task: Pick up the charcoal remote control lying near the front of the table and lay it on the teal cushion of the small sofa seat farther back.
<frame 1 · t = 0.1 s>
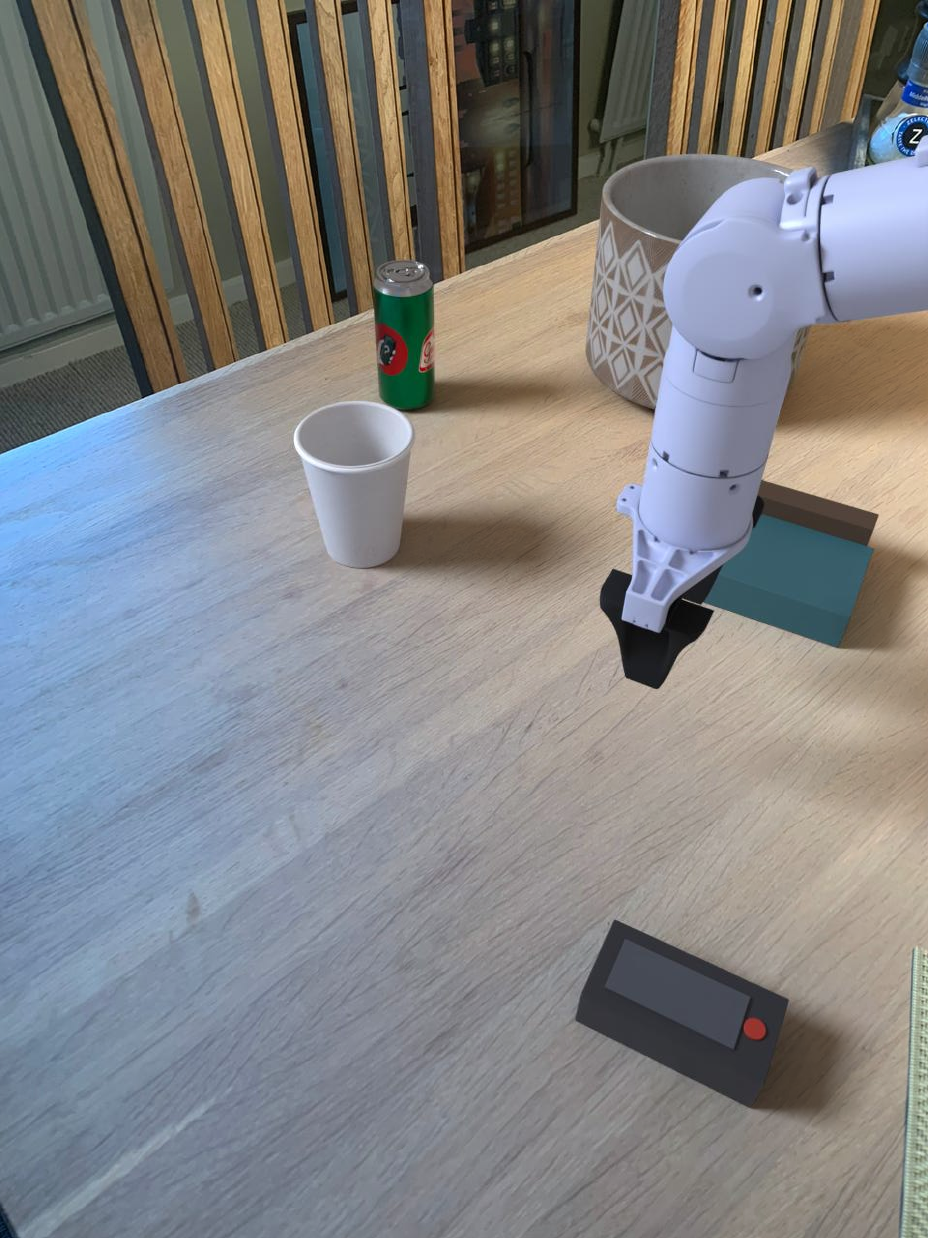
hand: (665, 636, 58), 8 cm above the table, tool pointing down, fingers open, 7 cm apart
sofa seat: (774, 587, 72), on the table
remote: (674, 1023, 50), on the table
soda can: (407, 399, 90), on the table
planter: (686, 376, 93), on the table
dixie cup: (363, 545, 75), on the table
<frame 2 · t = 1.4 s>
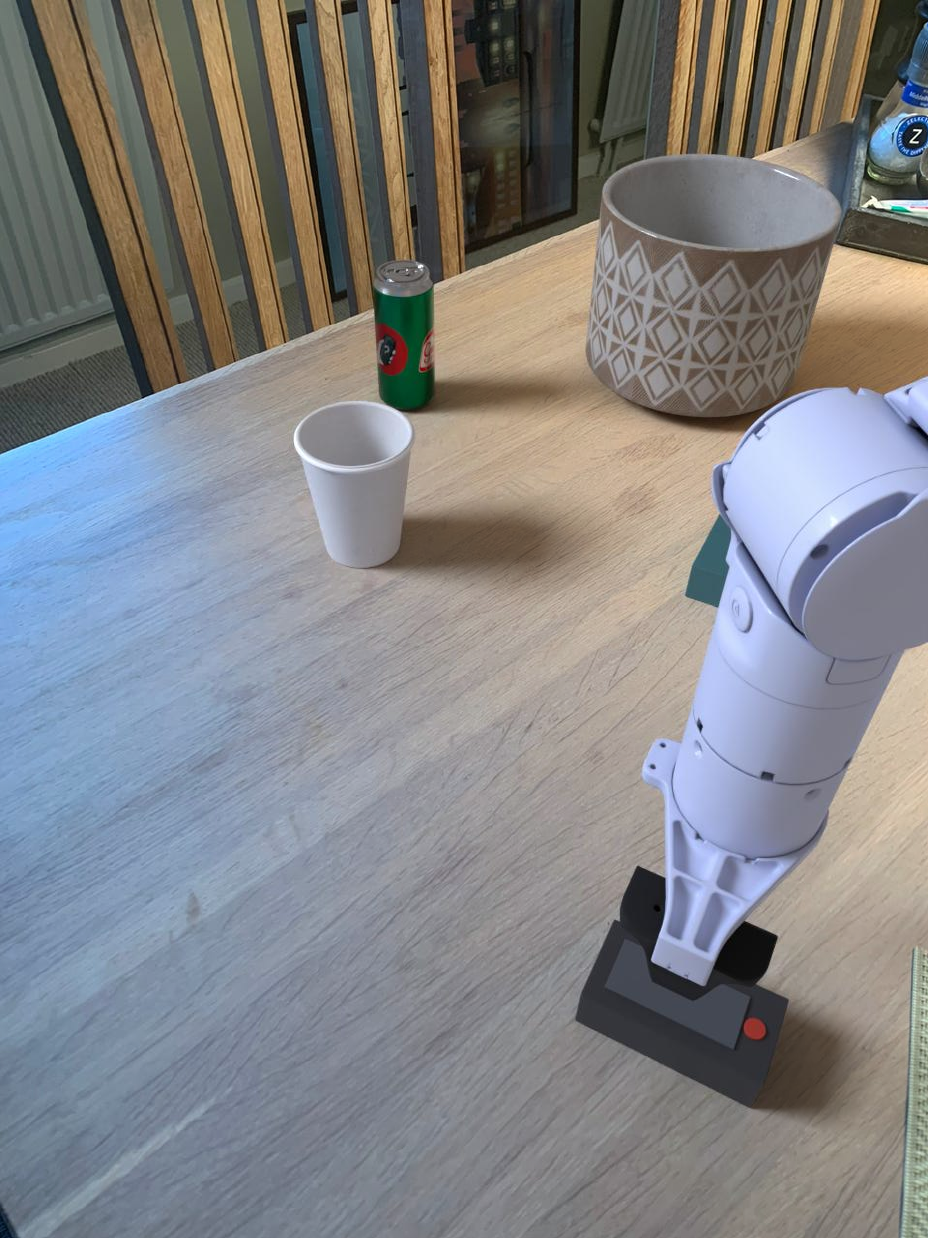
hand: (703, 911, 44), 9 cm above the table, tool pointing down, fingers open, 7 cm apart
nothing on the table moved.
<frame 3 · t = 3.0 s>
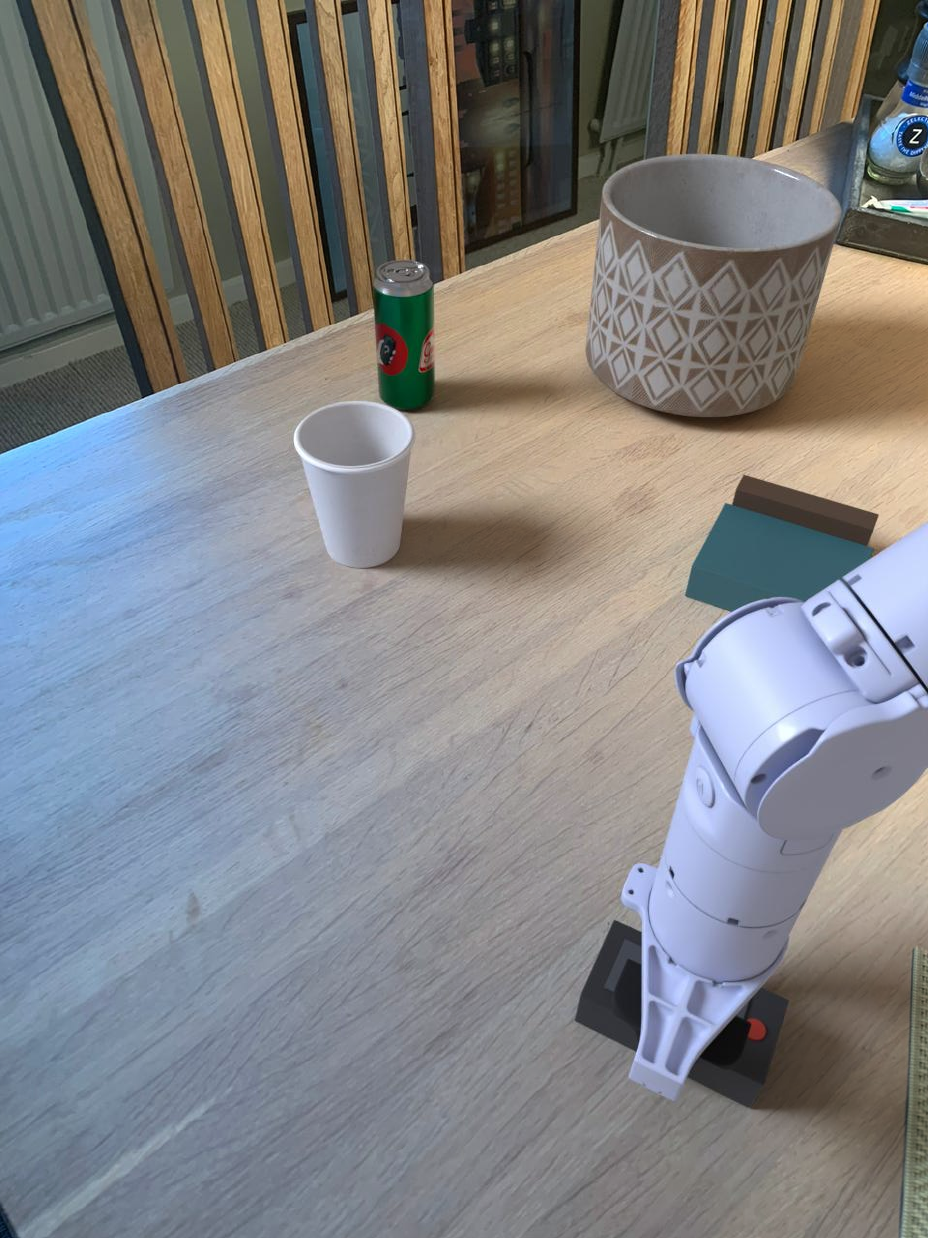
hand: (680, 1009, 49), 2 cm above the table, tool pointing down, fingers closed on remote, 4 cm apart
remote: (674, 1023, 50), on the table, touching gripper
everything else where it was.
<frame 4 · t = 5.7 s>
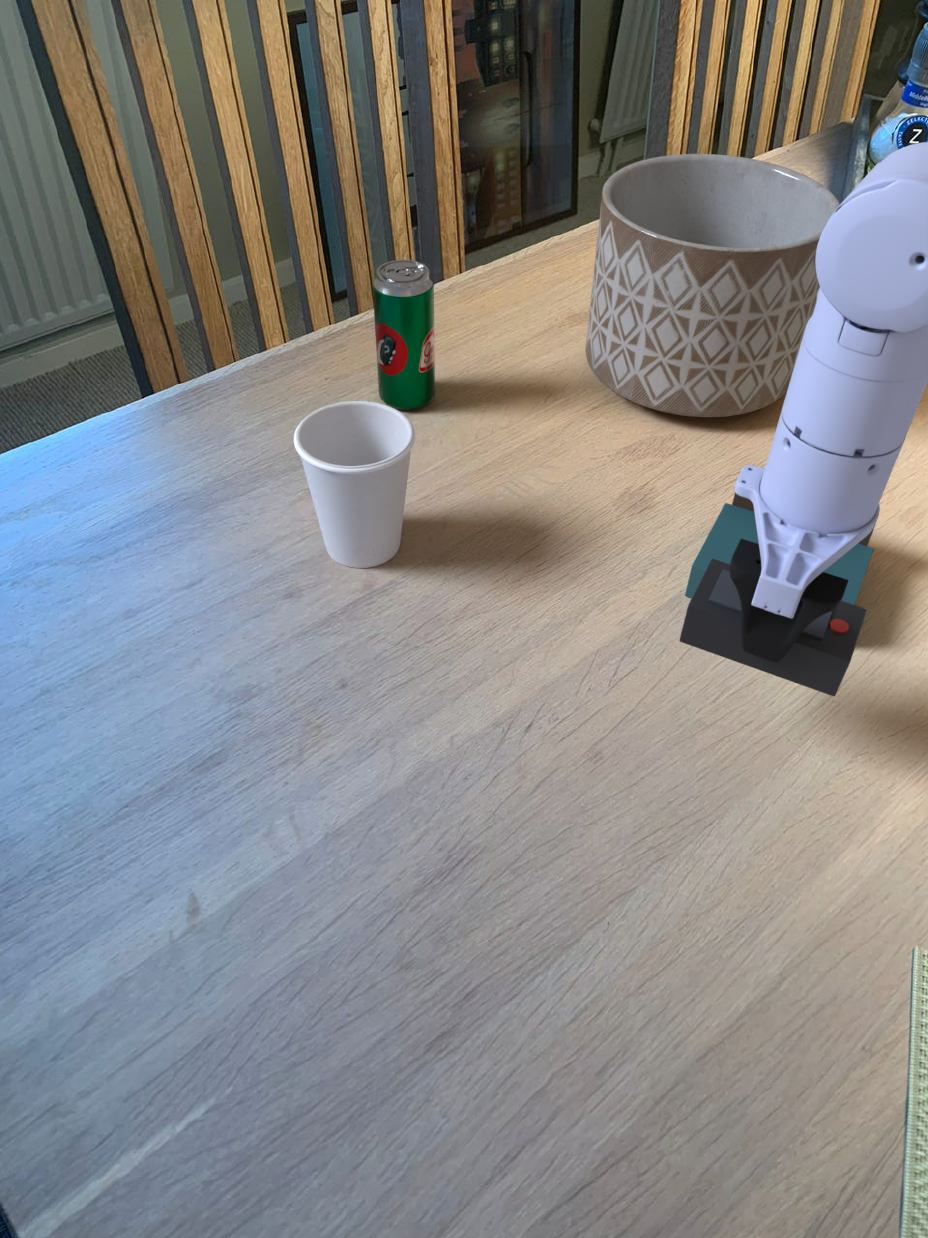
hand: (773, 623, 56), 9 cm above the table, tool pointing down, fingers closed on remote, 4 cm apart
remote: (765, 643, 58), point 8 cm above the table, touching gripper
everything else where it was.
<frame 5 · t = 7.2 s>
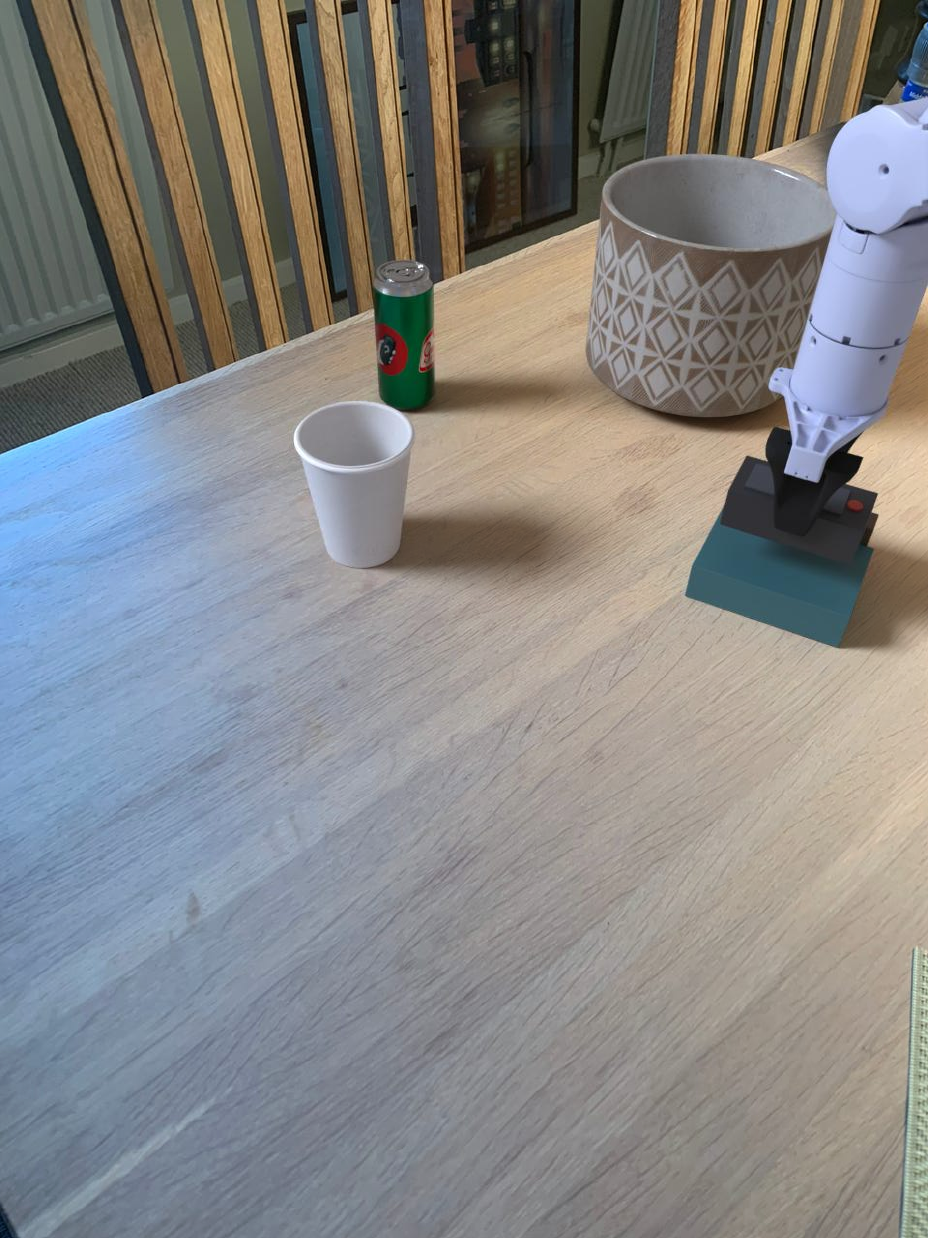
hand: (799, 507, 67), 7 cm above the table, tool pointing down, fingers closed on remote, 4 cm apart
remote: (792, 526, 68), point 6 cm above the table, touching gripper
everything else where it was.
when the fingers open (3 cm above the table, at t = 8.5 s): remote stays where it is, resting on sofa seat.
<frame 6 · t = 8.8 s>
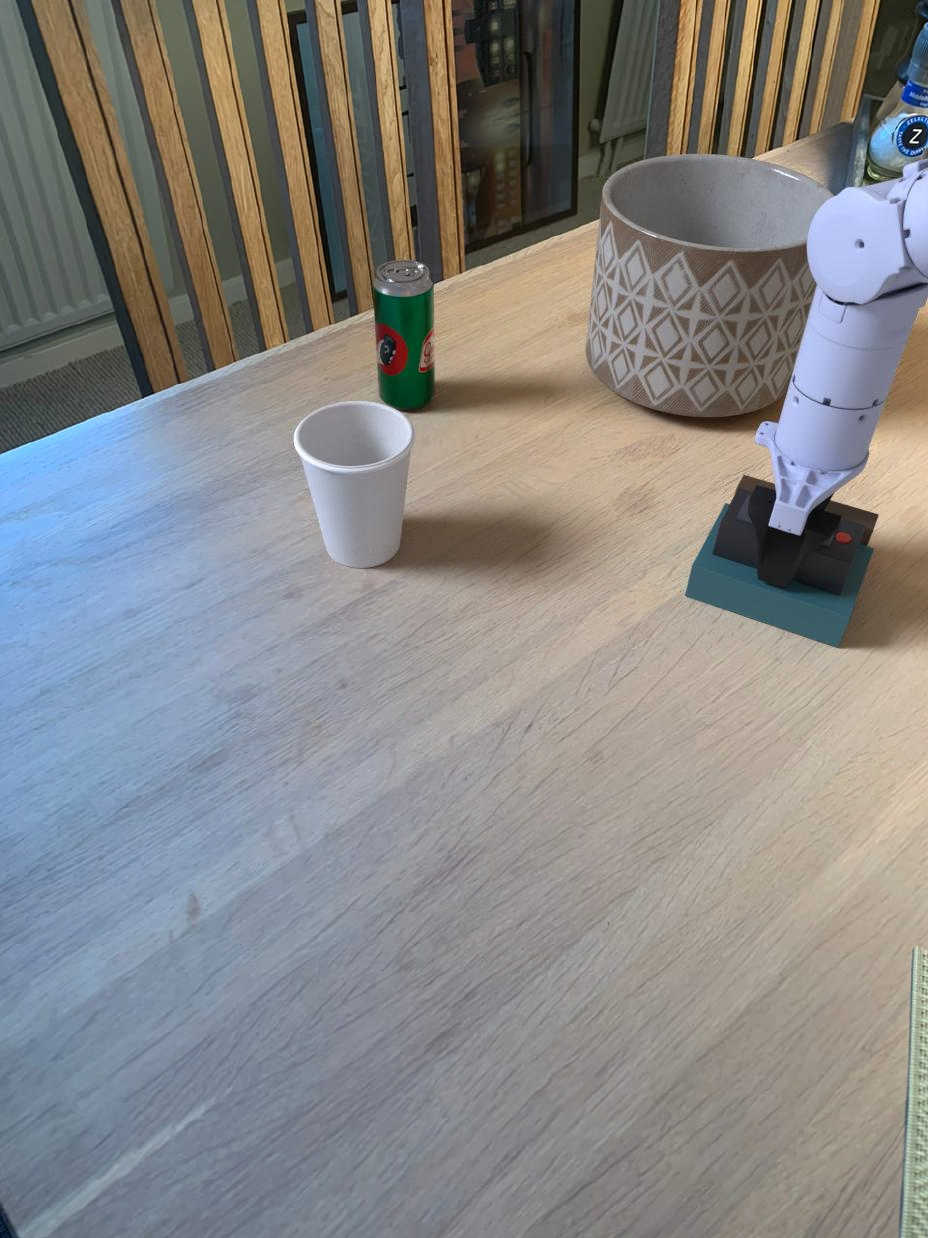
hand: (785, 552, 70), 3 cm above the table, tool pointing down, fingers open, 6 cm apart
remote: (782, 556, 70), point 3 cm above the table, touching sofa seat
everything else where it was.
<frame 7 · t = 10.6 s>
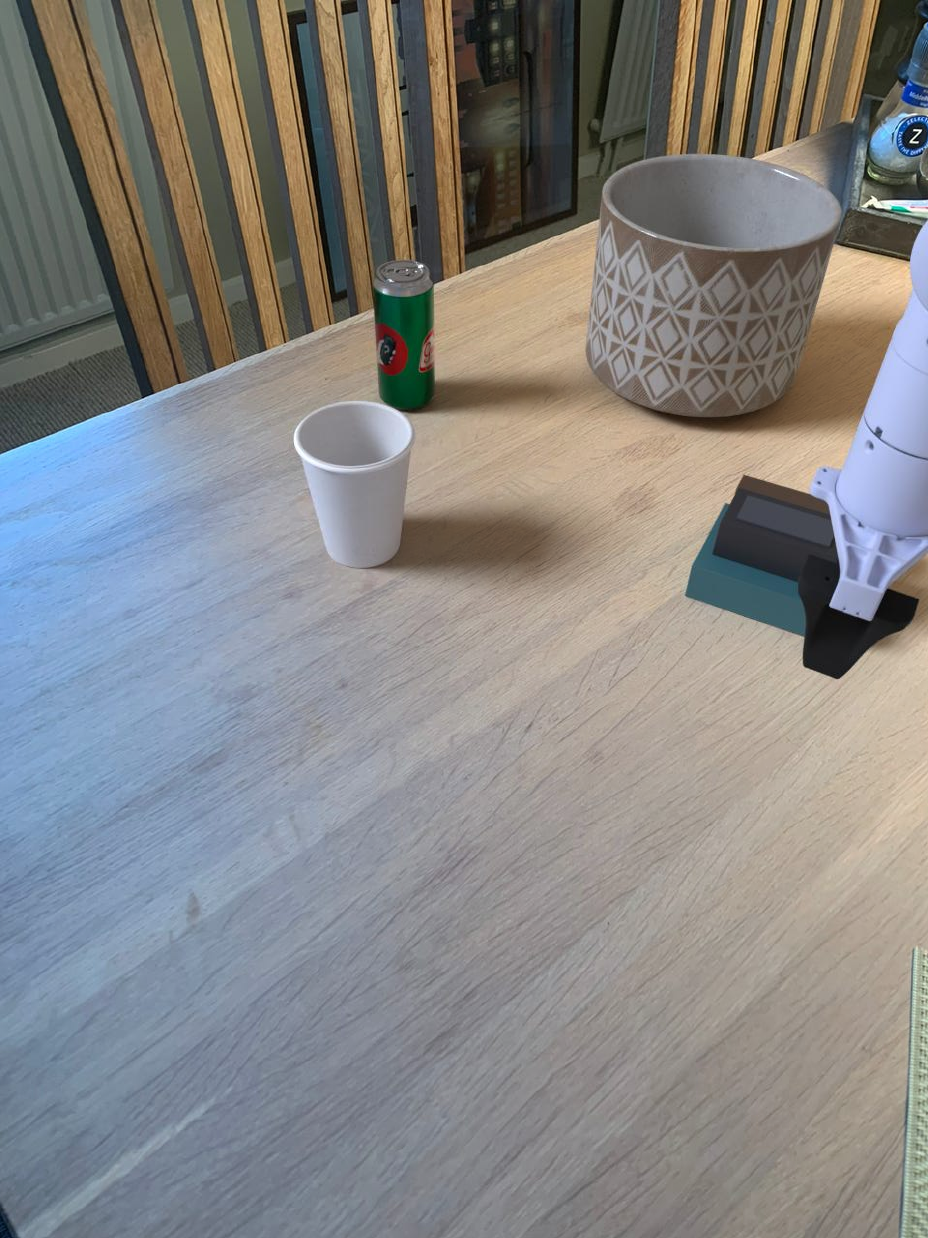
hand: (838, 625, 57), 9 cm above the table, tool pointing down, fingers open, 7 cm apart
nothing on the table moved.
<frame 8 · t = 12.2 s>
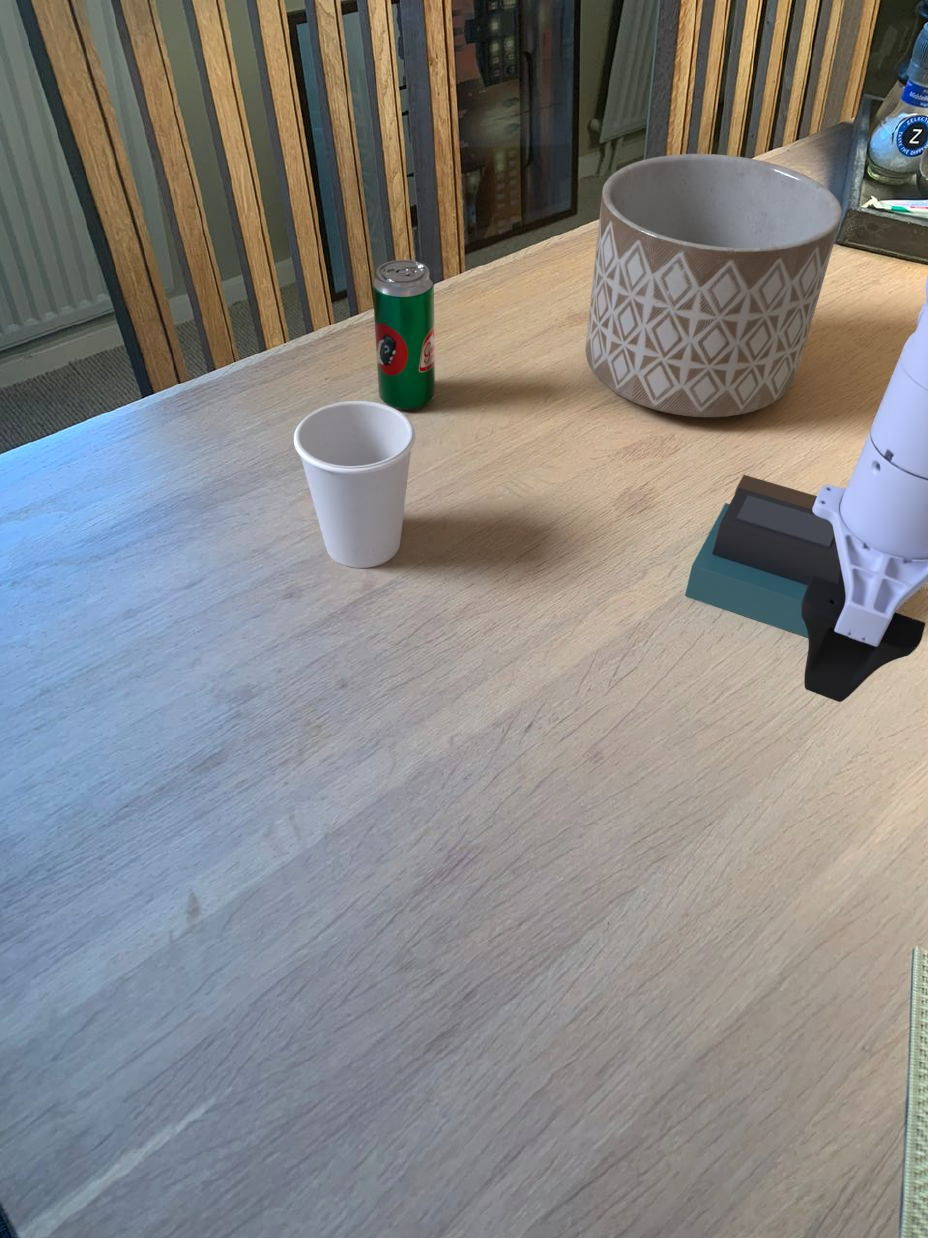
hand: (840, 645, 55), 9 cm above the table, tool pointing down, fingers open, 7 cm apart
nothing on the table moved.
at the end: remote inside the target area on the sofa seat (0.1 cm from its centre), point 3.0 cm above the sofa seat's base; the gripper is holding nothing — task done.
